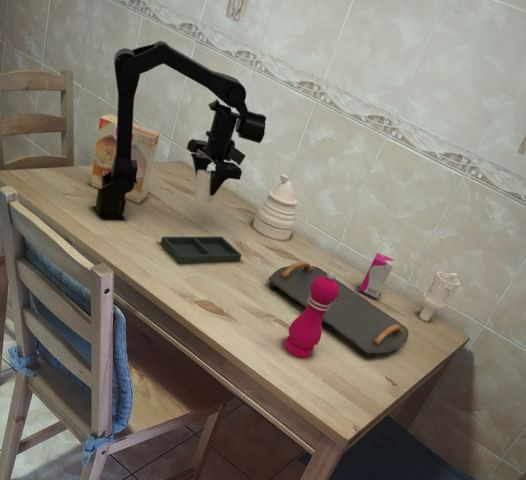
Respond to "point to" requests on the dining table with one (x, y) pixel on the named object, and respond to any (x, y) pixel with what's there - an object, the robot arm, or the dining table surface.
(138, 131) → the coffeecake box
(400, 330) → the serving tray
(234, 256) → the divided green tray
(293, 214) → the honey pot
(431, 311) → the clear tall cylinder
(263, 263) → the dining table surface
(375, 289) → the supplement box
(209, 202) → the shot glass
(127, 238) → the dining table surface
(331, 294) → the pepper mill
